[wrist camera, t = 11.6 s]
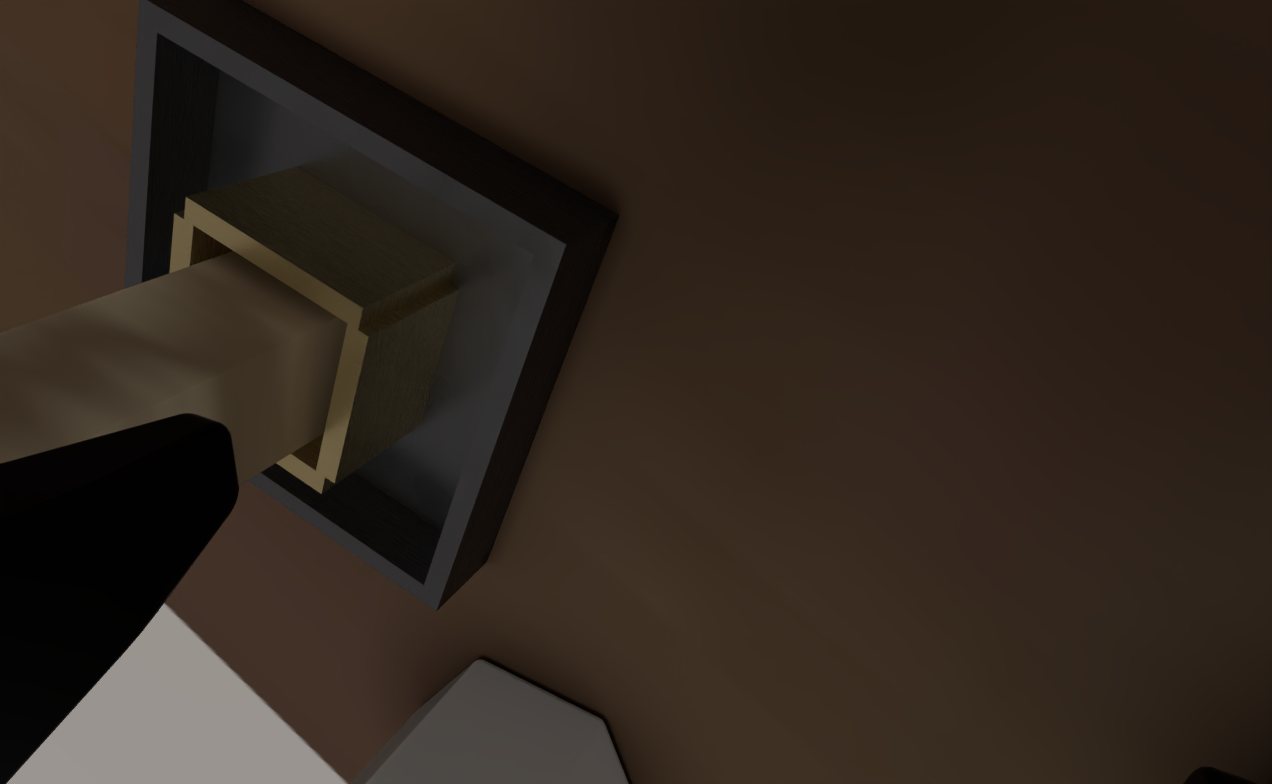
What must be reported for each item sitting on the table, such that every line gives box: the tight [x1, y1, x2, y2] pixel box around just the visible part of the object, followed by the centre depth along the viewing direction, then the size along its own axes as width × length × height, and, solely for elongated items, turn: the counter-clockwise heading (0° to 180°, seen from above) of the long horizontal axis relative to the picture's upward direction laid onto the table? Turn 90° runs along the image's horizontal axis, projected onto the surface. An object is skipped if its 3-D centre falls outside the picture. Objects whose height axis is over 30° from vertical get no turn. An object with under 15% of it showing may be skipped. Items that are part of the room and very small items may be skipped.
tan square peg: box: [0, 251, 348, 485], centre depth 20 cm, size 4×4×13 cm
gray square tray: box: [125, 0, 619, 611], centre depth 24 cm, size 12×12×4 cm
